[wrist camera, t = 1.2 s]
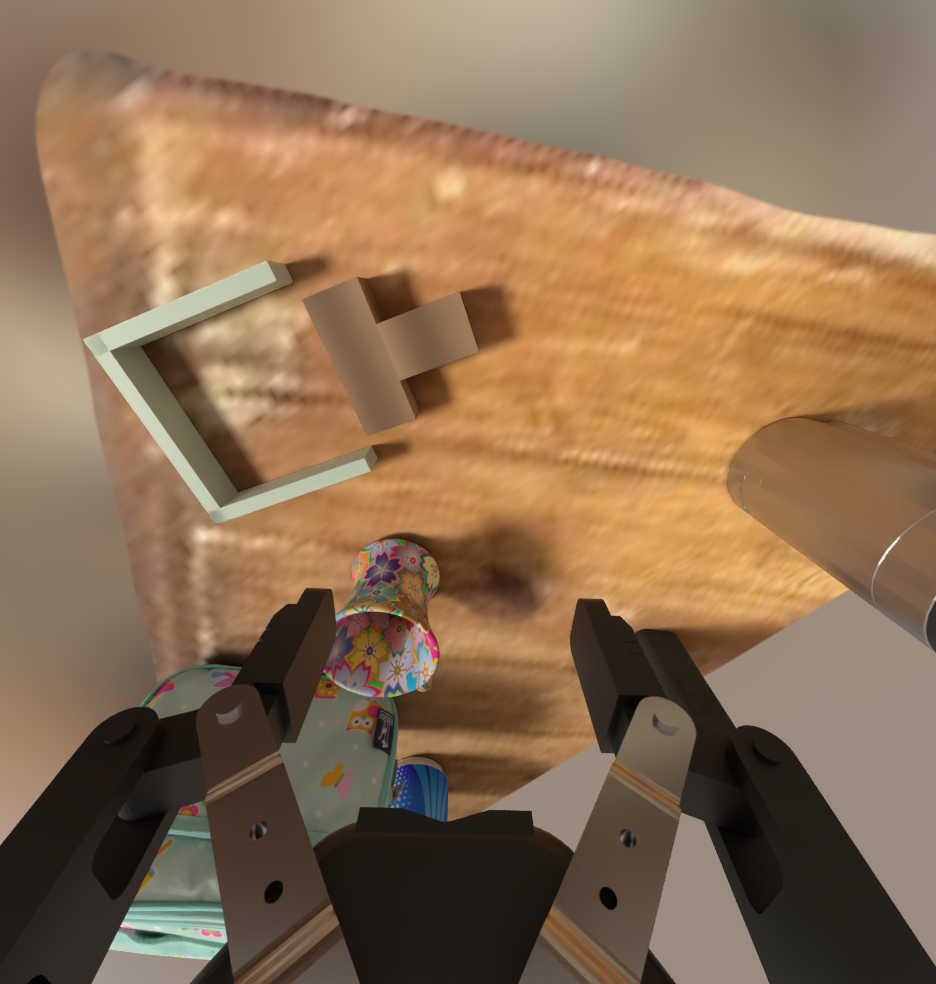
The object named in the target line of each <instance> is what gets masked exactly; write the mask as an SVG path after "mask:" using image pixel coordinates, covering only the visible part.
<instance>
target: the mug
mask: <svg viewBox="0 0 936 984" xmlns="http://www.w3.org/2000/svg"><path fill="white" fill-rule="evenodd" d="M351 577H352V582H353V585H354V589H353V593H352V595H351V597H350V599H349V601H348V602H347V604H346V605H345V606H344V608H343V609H342V610H341V611H340V612H338V613H337V614H336V615H335V617H336V626H337V629H336V638H335V642H334V645H333V648H332V651H331V653H330V656H329V658H328V661H327V664H326V666H325V669H324V671H323V672H324V673H325V674H326V675H327V677H329V678H330V679H331V680H332V681H333V682H334V683H336V684H337V685H339V686H340V687H342V688H344V689H346V690H348V691H351V692H353V693H356V694H360V695H364V696H370V697H394V696H399V695H403V694H406V693H409V692H411V691H414V690H416V689H417V690H418V691H421V692H425V691H427V690H429V689H430V688H431V686H432V675H433V674H434V672H435V671H436V668H437V666H438V663H439V653H440V652H439V646H438V642H437V640H436V637H435V636H434V634H433V632H432V630H431V628H430V625H429V622H428V616H427V606H428V602H429V600H430V599H431V598H432V597H433V595H434V594H435V592H436V590H437V588H438V585H439V580H440V574H439V569H438V566H437V564H436V562H435V560H434V558H433V557H432V556H431V555H430V553H429V552H427V551H426V550H425V549H424V548H422V547H421V546H419V545H417V544H415V543H413V542H410V541H407V540H402V539H384V540H379V541H376V542H374V543H371V544H370V545H368V546H366V547H365V548H364V549H363V550H361V552H360V553H359V554H358V555H357V556H356V558H355V560H354V562H353V565H352V569H351Z"/></svg>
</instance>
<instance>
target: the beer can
mask: <svg viewBox="0 0 936 984" xmlns="http://www.w3.org/2000/svg"><path fill="white" fill-rule="evenodd" d="M405 779H406V782H405V784H404V786H403V788H402V791H401V792H400V794H399V797H398V799H397V801H396V802H395V803H394V804H392V803H391V806H390V808H404V809H407V810H410V811H413V812H416V813H419V814H422V815H425V816H427V817H430V818H433V819H436V820H439V821H443V822H447V810H448V779H447V777H446V775H445V774H444V772H443V770H442V768H441V766H440V765H439V764H438V763H437V762H435V761H433V760H431V759H428V758H424V757H409V758H405V759H402V760H400V761H398V768H397V775H396V783H395V784H394V786H396V787H400V785H401V784H402V782H403V780H405Z"/></svg>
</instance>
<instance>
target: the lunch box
mask: <svg viewBox="0 0 936 984" xmlns="http://www.w3.org/2000/svg"><path fill="white" fill-rule="evenodd" d="M241 668H242V667H235V666H227V665H217V664H207V665H199V666H195V667H191V668H188V669H185V670H182V671H180V672H178V673H176V674H174V675H172V676H170V677H169V678H167V679H166V680H164V681H163V682H162V683H160V684H159V685H158V686H157V687H156V688H155V689H154V690H153V691H152V692H151V693H150V694H149V695H148V696H147V698H146V699H145V700H144V701H143V702H142V704H141V705H140V706H139V707H149V708H151V709H153V710H154V711H155V712H156V713H157V715H158V717H159V719H161V718H165V717H169V716H173V715H177V714H181V713H185V712H189V711H193V710H196V709H199V708H200V707H201V706H202V705H203V703H204V702H205V701H206V700H207V699H208V698H209V697H211V696H212V695H213V694H215V693H216V692H218V691H220V690H221V689H223V688H226V687H229V686H231V684H232V683H233V681H234V680H235V678H236V676H237V675H238V673H239V671H240V670H241ZM397 739H398V716H397V709H396V706H395V703H394V700H393V699H392V697H370V696H364V695H360V694H356V693H353V692H351V691H348V690H346V689H344V688H342V687H340V686H339V685H337V684H336V683H334V682H333V681H332V680H331V679H330V678H329V677H327V676H326V675H322V677H321V679H320V682H319V684H318V687H317V690H316V692H315V695H314V697H313V700H312V703H311V705H310V708H309V710H308V713H307V716H306V718H305V721H304V723H303V726H302V728H301V731H300V734H299V736H298V739H297V741H296V743H282V745H281V747H280V749H279V754H281V756H282V759H283V762H284V765H285V768H286V771H287V774H288V777H289V780H290V783H291V785H292V788H293V791H294V794H295V797H296V800H297V803H298V806H299V809H300V812H301V815H302V818H303V821H304V824H305V827H306V830H307V833H308V836H309V839H310V842H311V845H312V847H313V846H315V845H316V844H317V843H318V842H319V841H321V840H322V839H323V838H325V837H326V836H327V835H329V834H331V833H333V832H334V831H336V830H338V829H340V828H342V827H344V826H347V825H349V824H352V823H355V822H357V818H358V813H359V809H360V807H384V808H390V806H391V803H392V804H394V803H395V802H396V801H397V799H398V797H399V794H400V792H401V791H402V788H403V786H404V784H405V782H406V779H405V780H403V782H402V784H401V785H400V787H396V786H394V784H395V783H396V775H397V768H398V761H399V760H398V759H397V760H396V751H397ZM226 942H227V935H226V929H225V923H224V916H223V910H222V904H221V898H220V892H219V886H218V879H217V873H216V867H215V861H214V855H213V848H212V842H211V836H210V830H209V824H208V817H207V811H206V804H205V800H204V801H201V802H198V803H195V804H192V805H188V806H185V807H182V808H180V810H179V812H178V814H177V816H176V818H175V820H174V822H173V824H172V826H171V828H170V830H169V832H168V834H167V836H166V838H165V840H164V842H163V844H162V846H161V847H160V849H159V851H158V853H157V855H156V857H155V859H154V861H153V863H152V865H151V867H150V869H149V871H148V873H147V875H146V877H145V879H144V881H143V883H142V885H141V887H140V889H139V891H138V893H137V895H136V897H135V899H134V901H133V903H132V905H131V907H130V909H129V911H128V912H127V914H126V916H125V918H124V920H123V922H122V924H121V926H120V928H119V930H118V932H117V934H116V936H115V938H114V940H113V942H112V944H111V946H110V948H109V949H111V950H119V951H127V952H135V953H142V954H152V955H162V956H172V957H184V958H195V959H205V960H211V959H212V958H213V957H214V956H215V955H216V954H217V953H218V951H219V950H220V949H221V948H222V947H223V946H224V945H225V944H226Z"/></svg>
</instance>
